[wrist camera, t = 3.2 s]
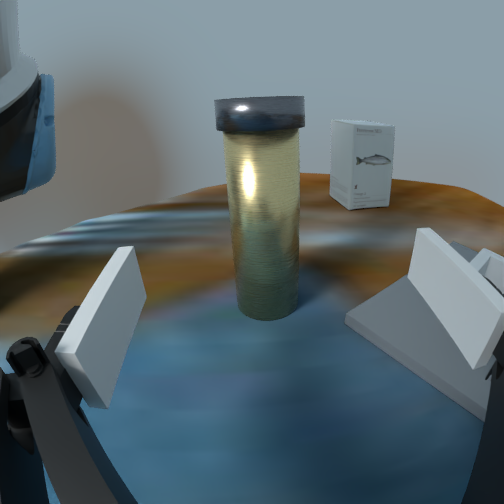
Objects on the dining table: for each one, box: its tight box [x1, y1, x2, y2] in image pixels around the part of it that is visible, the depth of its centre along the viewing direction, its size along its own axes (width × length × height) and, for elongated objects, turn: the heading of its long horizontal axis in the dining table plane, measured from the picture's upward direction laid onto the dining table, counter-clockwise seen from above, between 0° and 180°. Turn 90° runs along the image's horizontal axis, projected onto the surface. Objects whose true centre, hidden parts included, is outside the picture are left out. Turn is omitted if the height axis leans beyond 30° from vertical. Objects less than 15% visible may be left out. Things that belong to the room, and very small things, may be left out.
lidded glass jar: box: [214, 96, 305, 321], centre depth 22 cm, size 6×6×16 cm
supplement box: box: [330, 120, 395, 210], centre depth 44 cm, size 7×7×13 cm
